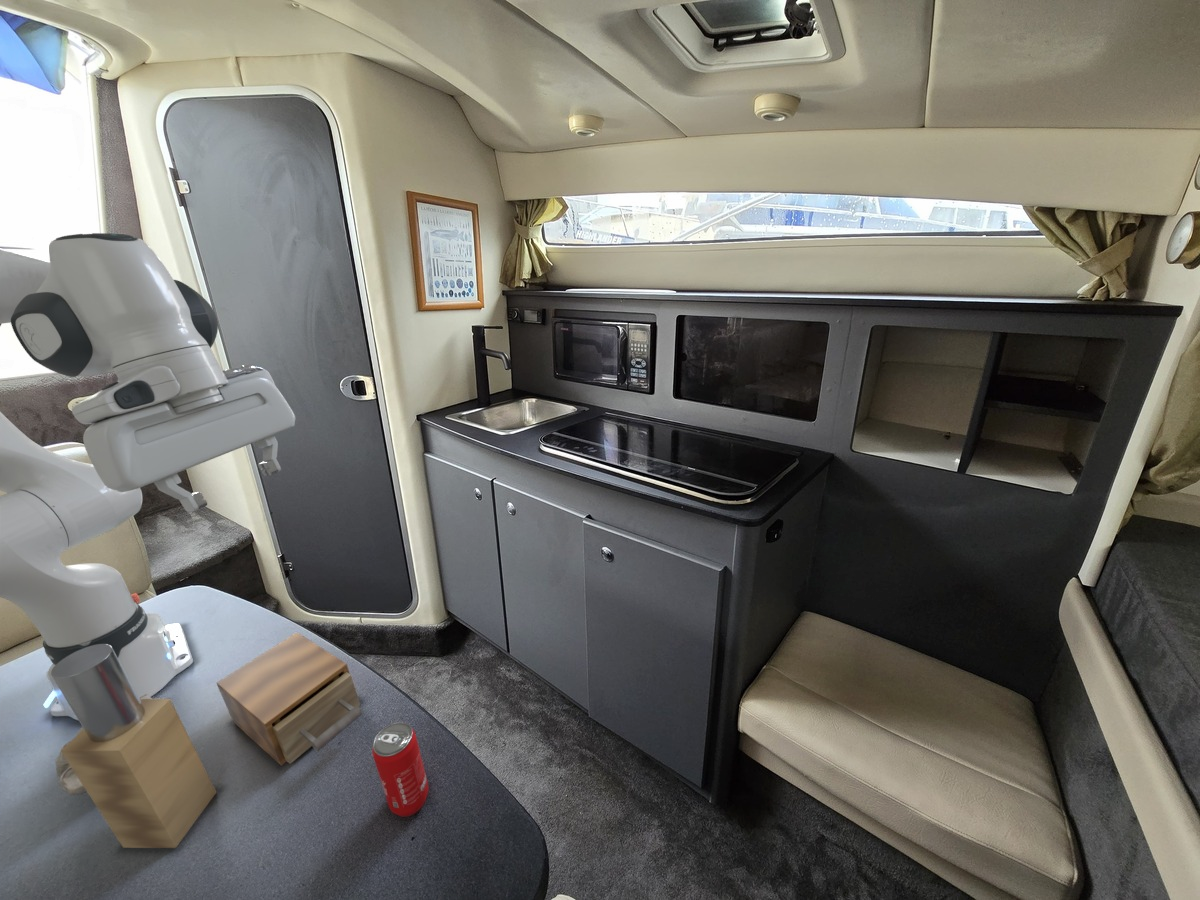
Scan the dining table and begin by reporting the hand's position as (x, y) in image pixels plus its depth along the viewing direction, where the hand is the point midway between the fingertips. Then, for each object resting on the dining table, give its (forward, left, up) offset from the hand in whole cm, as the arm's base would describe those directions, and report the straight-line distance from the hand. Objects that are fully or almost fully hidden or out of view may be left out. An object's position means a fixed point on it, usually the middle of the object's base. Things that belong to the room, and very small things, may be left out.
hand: (238, 490), depth 60 cm
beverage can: (+17, +8, -44) cm, 48 cm away
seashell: (-13, -25, -44) cm, 52 cm away
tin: (+1, -19, -25) cm, 31 cm away
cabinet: (-8, -3, -43) cm, 44 cm away
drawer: (-4, -1, -42) cm, 43 cm away
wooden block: (+1, -19, -43) cm, 47 cm away
